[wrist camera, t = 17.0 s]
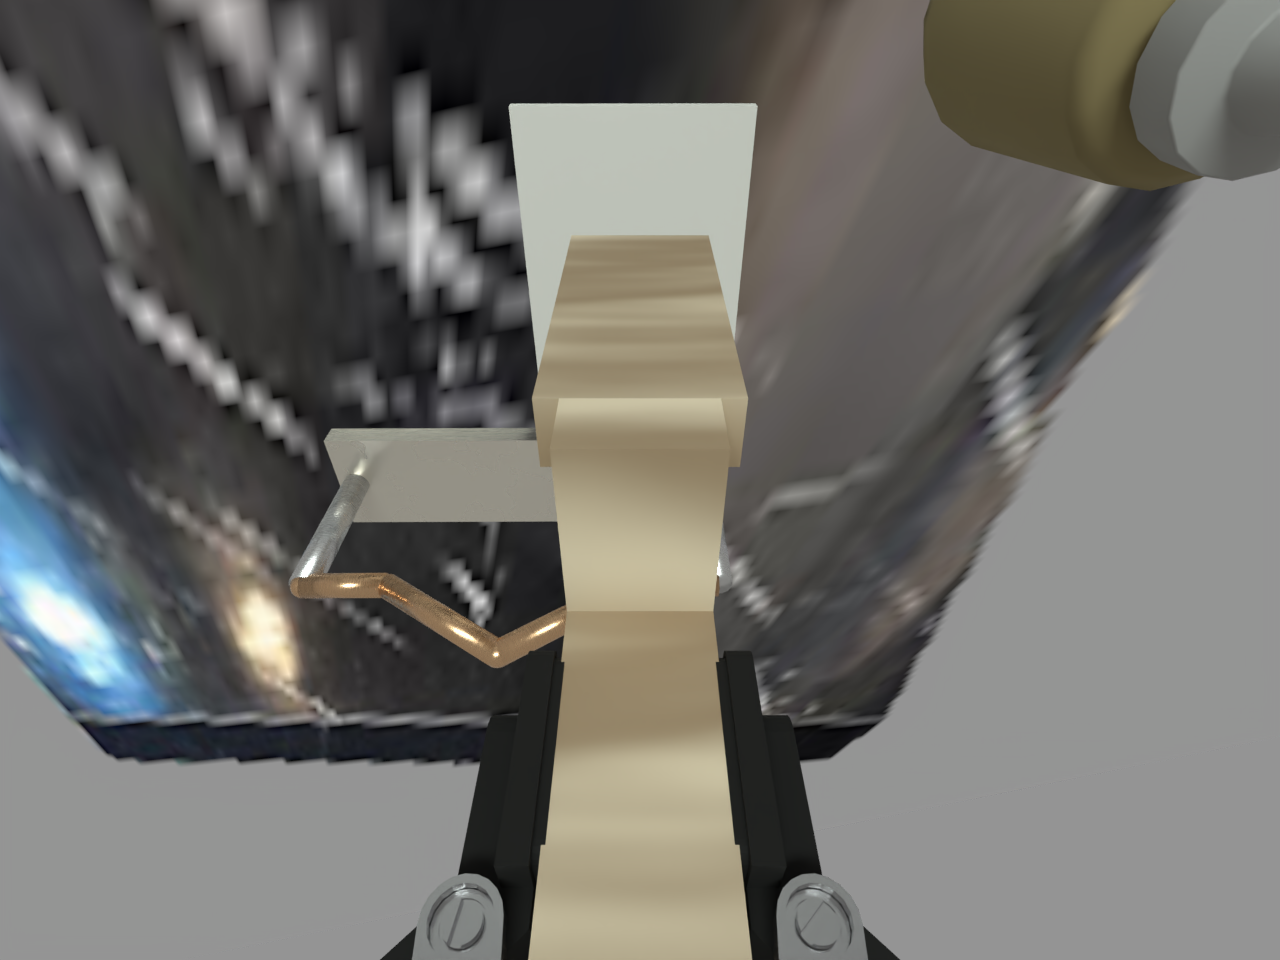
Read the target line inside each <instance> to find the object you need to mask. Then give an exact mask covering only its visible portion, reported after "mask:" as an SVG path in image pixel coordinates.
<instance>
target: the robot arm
mask: <svg viewBox="0 0 1280 960" xmlns="http://www.w3.org/2000/svg"><path fill="white" fill-rule="evenodd" d="M561 660H562V658H557V652H556V651H529V653H528V656H527V662H526V668H525V674H524V680H523V687H522V693H521V699H520V705H519V712H518V715H492V716H491V718H490V720H489V723H488V726H487V730H486V735H485V740H484V745H483V750H482V755H481V761H480V766H479V771H478V776H477V781H476V786H475V791H474V796H473V801H472V806H471V811H470V816H469V821H468V826H467V832H466V837H465V842H464V847H463V852H462V857H461V862H460V867H459V872H458V875H457V876H454V877H451V878H450V879H448V880H446V881H445V882H443V883H441V884H440V885H439V886H438V887H437V888H436V889H435V890H434V891H433V892H432V893H431V894H430V895H429V897H428V899H427V900H426V902H425V904H424V906H423V907H422V909H421V913H420V916H419V920H418V923H417V926H416V927H415V928H414V929H413V930H412V931H411V932H410V933H409V934H408V935H406V936H405V937H404V938H403V939H402V940H401V941H400V942H399V943H398V944H397V945H396V946H395V947H393V948H392V949H391V950H390V951H389V952H388V953H387V954H386V955H385V956H383V957H382V958H381V959H380V960H528V958H529V949H530V940H531V931H532V922H533V913H534V904H535V895H536V886H537V877H538V868H539V859H540V850H541V845H545V843H546V834H547V824H548V815H549V805H550V796H551V787H552V777H553V768H554V758H555V749H556V739H557V730H558V720H559V711H560V702H561V692H562V683H563V673H564V664H565V662H561ZM716 670H717V680H718V689H719V699H720V708H721V718H722V727H723V737H724V746H725V755H726V765H727V774H728V784H729V793H730V803H731V812H732V822H733V831H734V841H735V845H739V847H740V855H741V864H742V873H743V882H744V891H745V900H746V909H747V918H748V927H749V936H750V945H751V954H752V960H900V959H899V958H898V957H897V956H896V955H895V954H893V953H892V952H891V951H890V950H889V949H888V948H887V947H886V946H885V945H884V944H882V943H881V942H880V941H879V940H878V939H877V938H876V937H875V936H874V935H873V934H872V933H870V932H869V931H868V930H867V929H866V928H865V927H864V926H863V923H862V919H861V916H860V912H859V909H858V907H857V906H856V904H855V902H854V900H853V899H852V897H851V895H850V894H849V893H848V892H847V891H846V890H845V889H844V888H843V887H842V886H841V885H840V884H839V883H837V882H835V881H834V880H832V879H830V878H829V877H826V876H823V875H822V871H821V866H820V861H819V856H818V851H817V845H816V840H815V835H814V830H813V825H812V820H811V815H810V810H809V805H808V800H807V795H806V790H805V784H804V779H803V774H802V769H801V764H800V759H799V754H798V749H797V744H796V739H795V734H794V729H793V725H792V722H791V719H790V717H789V716H788V715H762V710H761V703H760V697H759V691H758V685H757V678H756V672H755V666H754V660H753V655H752V652H751V651H724V653H723V658H719V662H716Z"/></svg>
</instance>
